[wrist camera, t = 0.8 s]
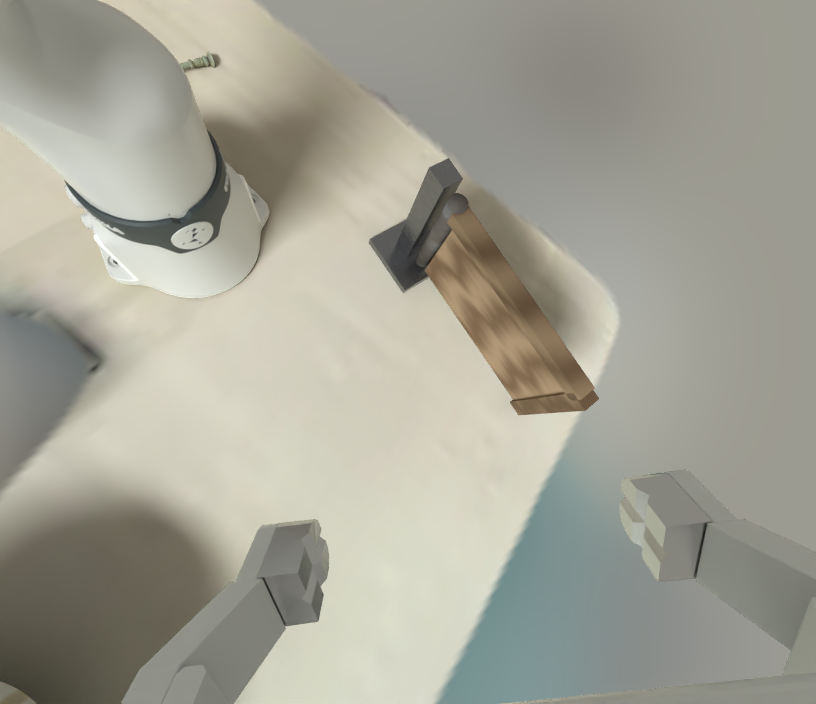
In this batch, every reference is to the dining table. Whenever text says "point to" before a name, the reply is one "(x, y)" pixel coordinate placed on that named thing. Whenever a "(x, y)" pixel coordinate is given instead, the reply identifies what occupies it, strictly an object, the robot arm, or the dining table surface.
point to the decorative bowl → (13, 695)
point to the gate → (501, 315)
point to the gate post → (416, 226)
